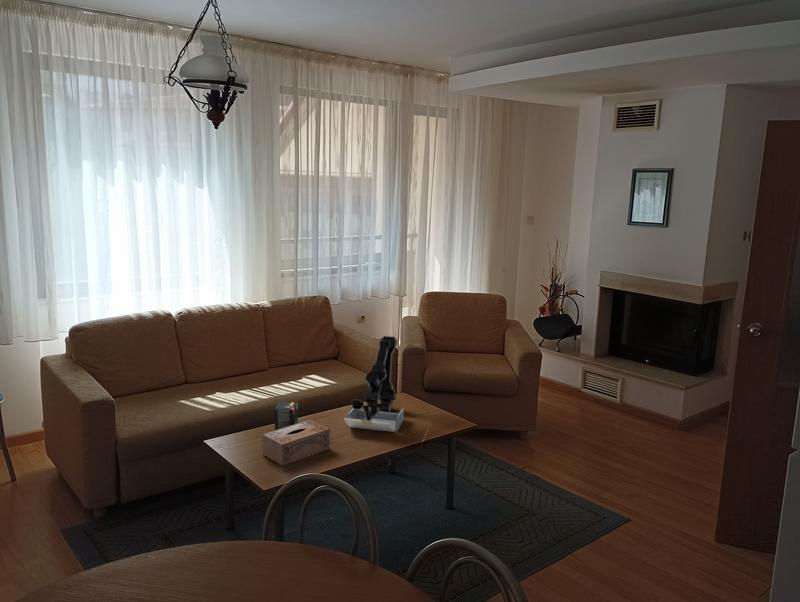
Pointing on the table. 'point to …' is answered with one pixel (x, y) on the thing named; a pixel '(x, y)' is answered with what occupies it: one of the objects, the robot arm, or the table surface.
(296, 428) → the tissue box cover
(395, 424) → the carton
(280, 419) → the tampon box
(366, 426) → the flap
